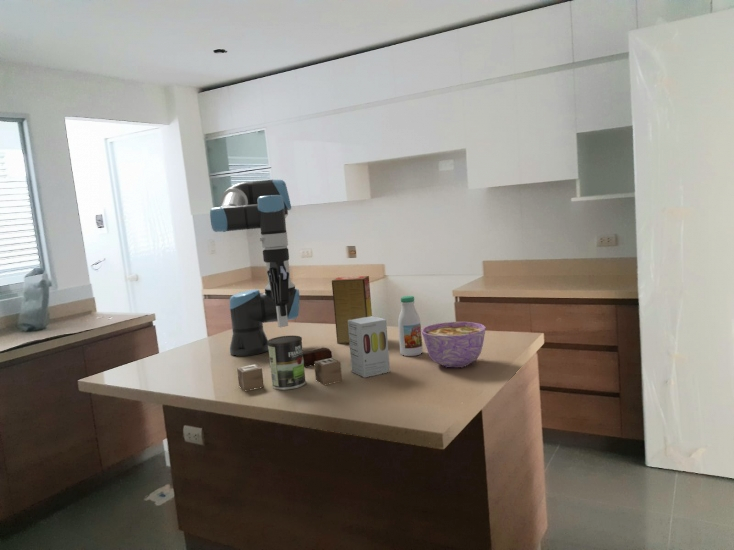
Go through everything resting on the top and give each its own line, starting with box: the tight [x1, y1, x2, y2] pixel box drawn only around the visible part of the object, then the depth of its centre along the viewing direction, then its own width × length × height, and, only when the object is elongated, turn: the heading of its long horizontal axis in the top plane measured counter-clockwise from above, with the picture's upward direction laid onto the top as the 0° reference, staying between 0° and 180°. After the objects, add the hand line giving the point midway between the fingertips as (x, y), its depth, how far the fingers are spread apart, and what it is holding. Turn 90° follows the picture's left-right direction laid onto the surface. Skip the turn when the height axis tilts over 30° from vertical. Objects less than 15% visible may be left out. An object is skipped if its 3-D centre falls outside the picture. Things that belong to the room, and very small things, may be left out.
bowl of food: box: [421, 321, 487, 368], centre depth 175 cm, size 20×20×12 cm
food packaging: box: [331, 275, 373, 344], centre depth 218 cm, size 13×9×25 cm
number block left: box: [236, 363, 265, 392], centre depth 169 cm, size 6×6×6 cm
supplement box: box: [348, 315, 391, 379], centre depth 174 cm, size 10×9×17 cm
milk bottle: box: [397, 295, 424, 357], centre depth 191 cm, size 8×8×20 cm
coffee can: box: [267, 335, 307, 391], centre depth 168 cm, size 10×10×14 cm
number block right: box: [314, 357, 343, 386], centre depth 169 cm, size 6×6×6 cm
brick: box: [303, 347, 333, 368], centre depth 191 cm, size 11×4×5 cm, turn 120°
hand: (283, 326), depth 167 cm, fingers closed
